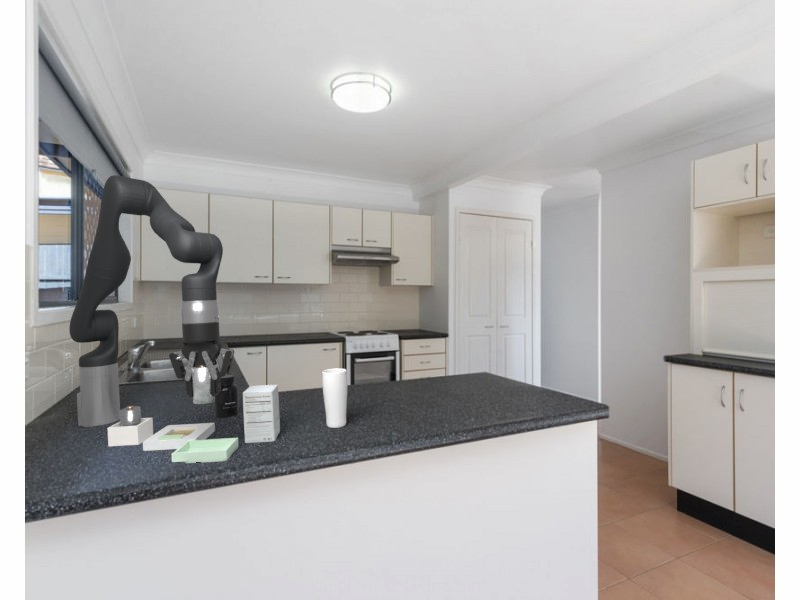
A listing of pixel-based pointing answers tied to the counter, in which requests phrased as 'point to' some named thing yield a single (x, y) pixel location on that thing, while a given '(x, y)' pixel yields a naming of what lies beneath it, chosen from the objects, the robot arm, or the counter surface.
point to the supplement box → (261, 413)
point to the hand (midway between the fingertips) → (204, 395)
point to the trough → (205, 450)
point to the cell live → (202, 385)
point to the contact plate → (182, 432)
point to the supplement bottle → (227, 398)
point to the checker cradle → (177, 436)
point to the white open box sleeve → (130, 433)
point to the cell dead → (130, 416)
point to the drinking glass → (335, 396)
